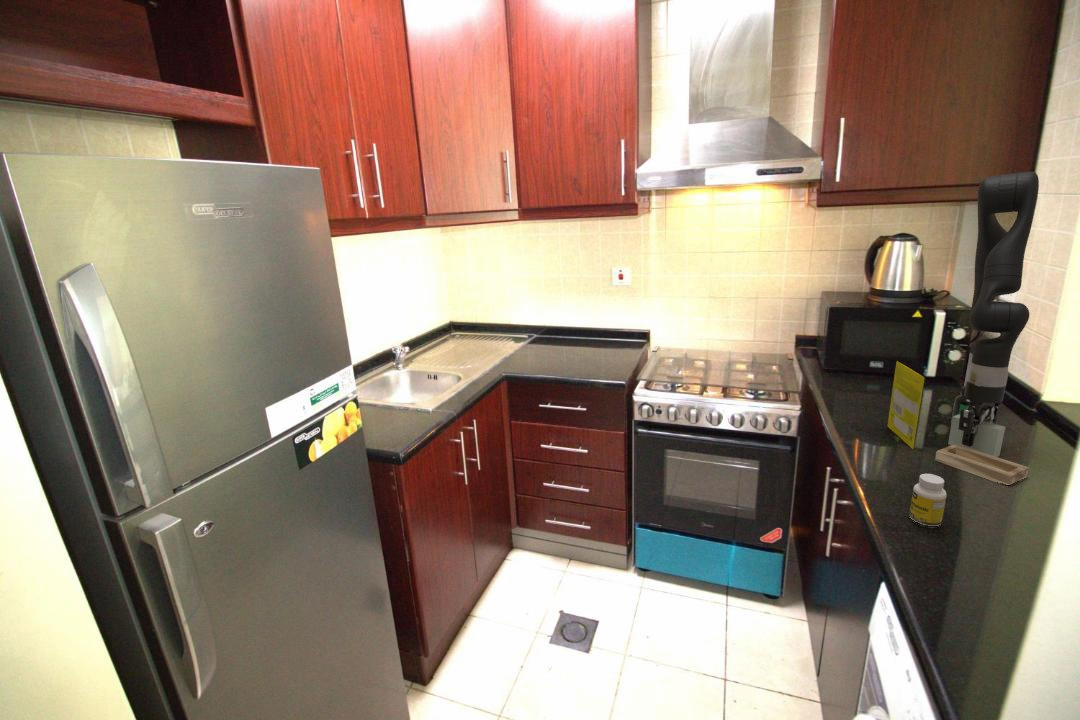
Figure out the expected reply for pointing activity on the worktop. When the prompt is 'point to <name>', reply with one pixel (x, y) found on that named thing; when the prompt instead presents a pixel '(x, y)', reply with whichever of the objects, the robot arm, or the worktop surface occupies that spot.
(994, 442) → the door panel
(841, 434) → the worktop surface
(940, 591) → the worktop surface
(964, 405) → the supplement bottle
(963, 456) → the track
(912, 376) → the food package
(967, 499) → the worktop surface
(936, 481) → the supplement bottle
